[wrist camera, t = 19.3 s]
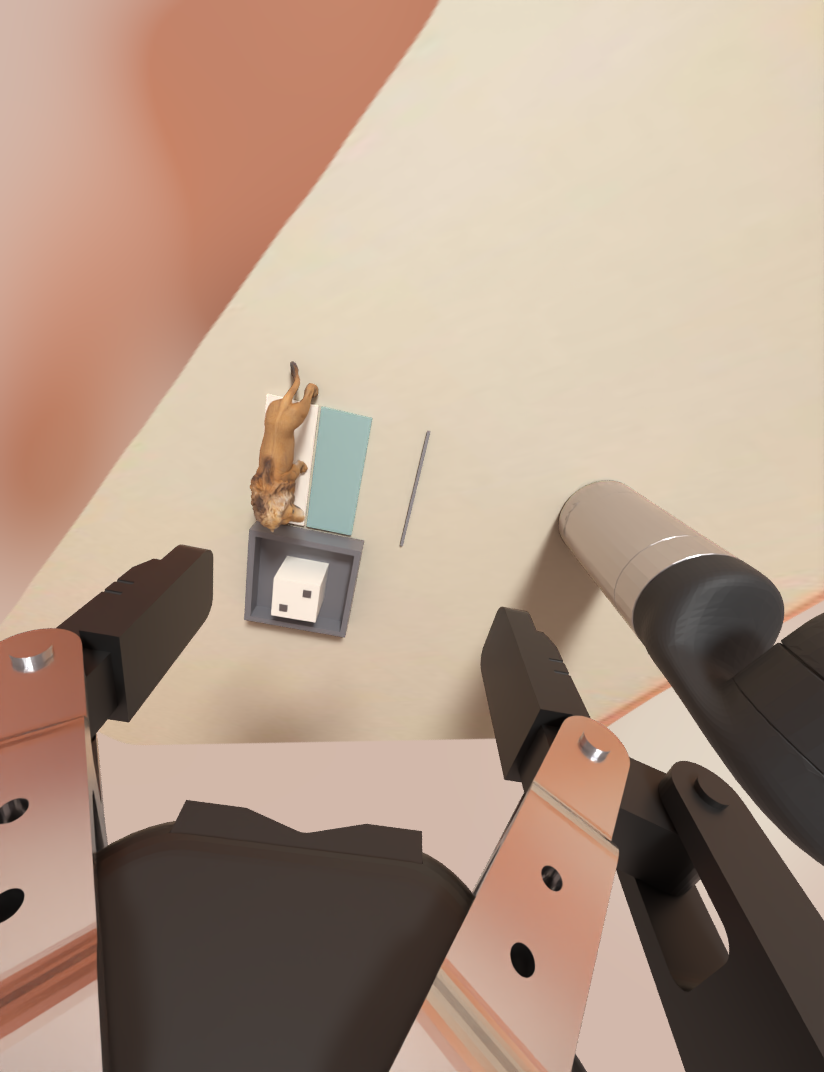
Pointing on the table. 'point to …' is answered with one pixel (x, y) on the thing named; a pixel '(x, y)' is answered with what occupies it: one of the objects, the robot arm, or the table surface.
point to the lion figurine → (280, 459)
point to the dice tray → (311, 545)
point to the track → (333, 467)
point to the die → (299, 589)
